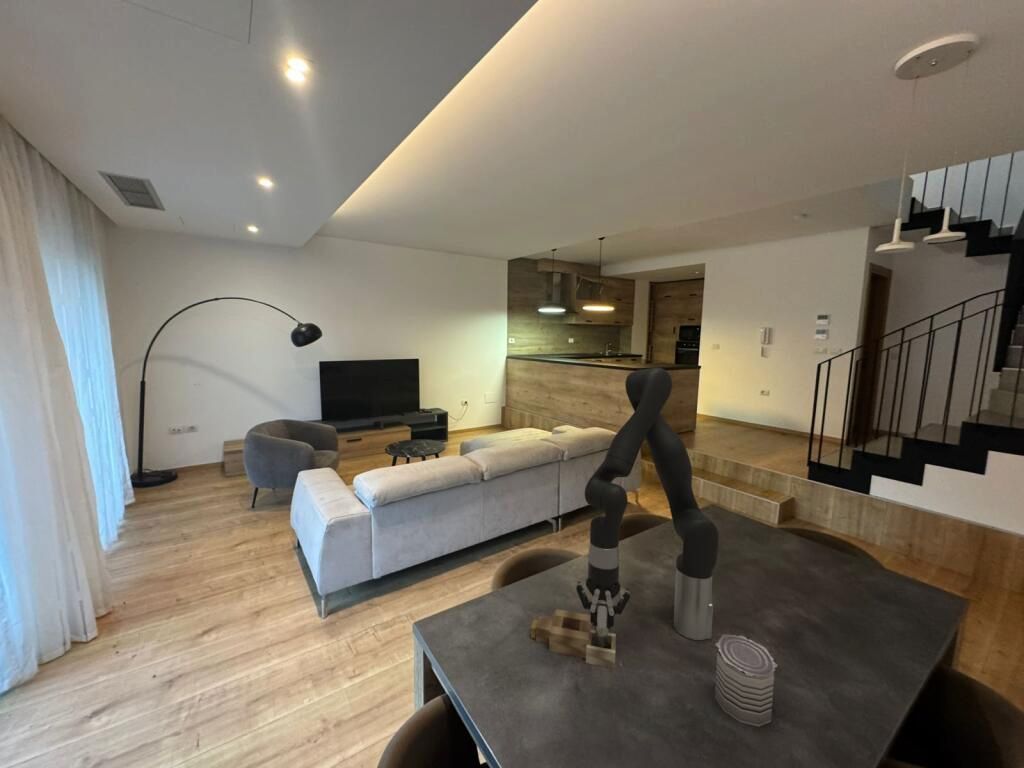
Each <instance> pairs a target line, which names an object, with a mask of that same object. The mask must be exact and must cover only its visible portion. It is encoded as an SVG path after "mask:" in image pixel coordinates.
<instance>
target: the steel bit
mask: <svg viewBox="0 0 1024 768" xmlns="http://www.w3.org/2000/svg"><path fill="white" fill-rule="evenodd" d="M608 614H609V610H608V605H607V601H604V600H598V601H597V605H596V626H594V628H595V629H594V630H595V647H601V648H606V649H608V633H609V629H608Z"/></svg>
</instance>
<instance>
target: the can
mask: <svg viewBox="0 0 1024 768" xmlns="http://www.w3.org/2000/svg"><path fill="white" fill-rule="evenodd" d="M715 647H716V649H717V652H716V654H717V655H716V668H715V669H716V670H715V671H716V672H715V685H714V687H715V688H714V689H715V691H714V699H715V700H716V702H717V703H718V705H719V706H720V708H721V710H722V711H723V712H724V713H726V714H727V715H729V716H730V717H732V718H734V719H735V720H736V721H737V722H739V723H741V724H746V725H749V726H755V727H758V728H759V727H762V726H764V725H766V724H768V723H771V722H772V716H773V715H772V713H773V702H774V701H773V697H774V683H775V671H776V670H777V667H778V666H779V665H778V663H777V662H776V661H775V659H774V658H773V657H772V655H771V654H770V653H769V651H768V650H767V648H766V647H765V646H762V644H759V643H757V642H755V641H753V640H751V639H750V638H748V637H746V636H745V635H737V634H724V633H723V634H722V635H721V636H720V638H719V639H717V642H716V643H715Z"/></svg>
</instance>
